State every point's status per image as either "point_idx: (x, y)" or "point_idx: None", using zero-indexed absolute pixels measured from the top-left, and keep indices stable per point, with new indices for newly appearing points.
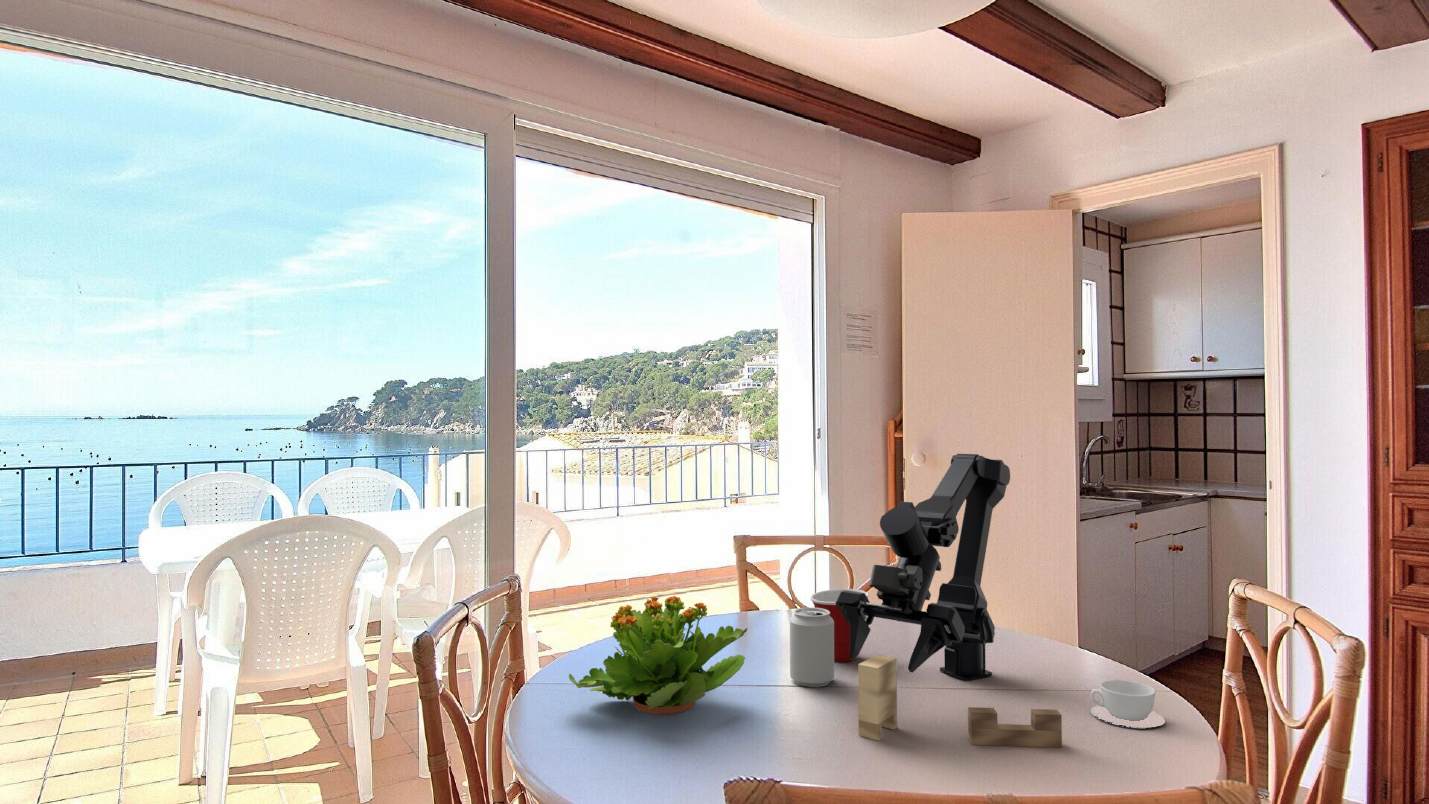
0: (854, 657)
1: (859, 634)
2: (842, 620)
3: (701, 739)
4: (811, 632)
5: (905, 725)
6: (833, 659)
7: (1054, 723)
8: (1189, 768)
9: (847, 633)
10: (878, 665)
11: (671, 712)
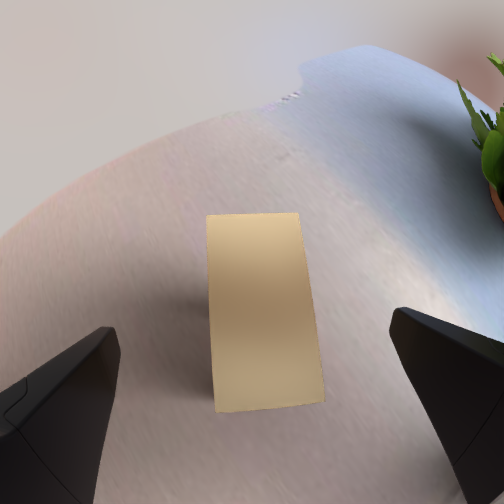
0: (395, 332)
1: (470, 387)
2: None
3: (412, 144)
4: None
5: (214, 427)
6: (501, 499)
7: None
8: None
9: None
10: (223, 250)
11: (489, 183)
